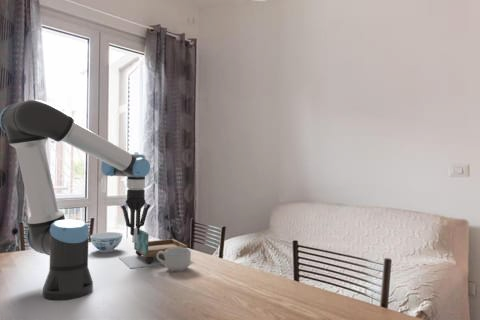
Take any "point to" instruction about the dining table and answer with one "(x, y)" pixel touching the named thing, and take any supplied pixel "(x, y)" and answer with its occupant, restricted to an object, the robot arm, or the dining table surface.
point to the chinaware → (106, 241)
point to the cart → (153, 246)
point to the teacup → (176, 258)
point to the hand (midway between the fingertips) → (134, 242)
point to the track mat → (140, 261)
